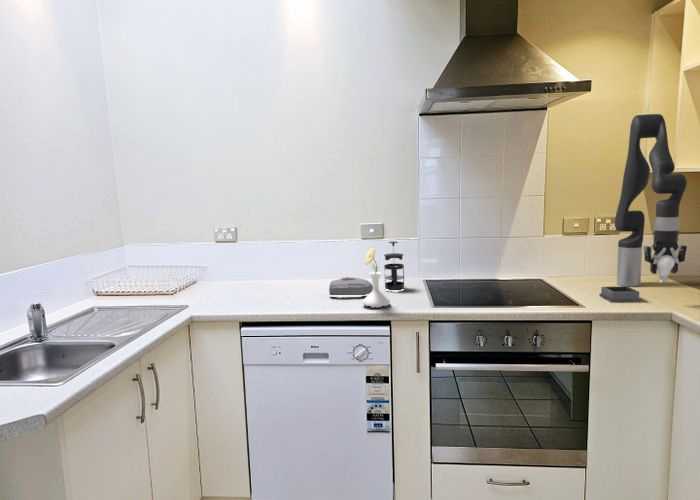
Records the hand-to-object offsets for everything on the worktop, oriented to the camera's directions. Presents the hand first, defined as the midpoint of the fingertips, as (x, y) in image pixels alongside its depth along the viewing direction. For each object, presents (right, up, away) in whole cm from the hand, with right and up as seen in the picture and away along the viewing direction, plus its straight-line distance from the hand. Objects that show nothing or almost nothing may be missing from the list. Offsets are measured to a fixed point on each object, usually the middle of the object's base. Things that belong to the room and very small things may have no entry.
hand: (663, 273), depth 176 cm
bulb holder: (-9, -11, +12) cm, 19 cm away
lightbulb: (0, -4, +1) cm, 4 cm away
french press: (-96, -10, +45) cm, 107 cm away
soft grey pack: (-116, -12, +39) cm, 123 cm away
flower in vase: (-106, -15, +17) cm, 109 cm away
